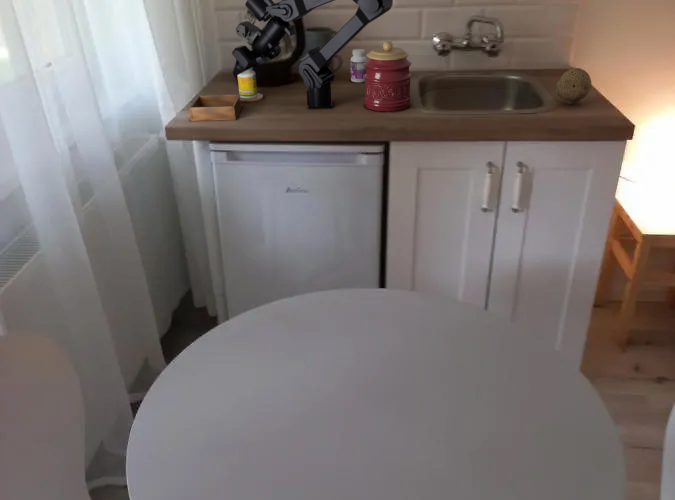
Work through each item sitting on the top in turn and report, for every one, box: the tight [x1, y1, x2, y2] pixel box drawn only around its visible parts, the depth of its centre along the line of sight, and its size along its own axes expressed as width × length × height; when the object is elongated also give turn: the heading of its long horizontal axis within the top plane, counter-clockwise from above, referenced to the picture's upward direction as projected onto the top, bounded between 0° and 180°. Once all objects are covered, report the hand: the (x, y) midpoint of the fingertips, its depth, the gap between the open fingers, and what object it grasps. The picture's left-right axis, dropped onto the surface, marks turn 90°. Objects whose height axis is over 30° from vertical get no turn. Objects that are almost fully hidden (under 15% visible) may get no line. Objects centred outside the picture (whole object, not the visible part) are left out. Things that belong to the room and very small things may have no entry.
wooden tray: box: [188, 93, 242, 122], centre depth 175 cm, size 12×12×4 cm
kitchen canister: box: [363, 40, 412, 112], centre depth 173 cm, size 13×13×18 cm
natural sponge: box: [555, 67, 592, 105], centre depth 171 cm, size 9×9×10 cm
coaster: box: [236, 92, 264, 103], centre depth 188 cm, size 9×9×1 cm
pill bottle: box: [350, 48, 368, 83], centre depth 201 cm, size 5×5×10 cm
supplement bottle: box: [237, 67, 258, 99], centre depth 186 cm, size 5×5×10 cm
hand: (242, 71), depth 185 cm, fingers open, 9 cm apart
